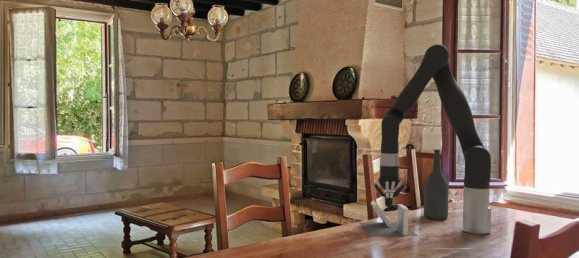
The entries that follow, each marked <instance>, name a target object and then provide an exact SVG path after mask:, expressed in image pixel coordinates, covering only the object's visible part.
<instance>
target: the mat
mask: <svg viewBox="0 0 579 258" xmlns="http://www.w3.org/2000/svg"><path fill="white" fill-rule="evenodd" d="M389 222H390V223H391V226H390V227H388V226H386V225H385V224H384V223H383V221H381V222H378V221H377V222H374V221H372V222H371V221H370V222H369V221H368V222H364V221H363V222H361V221H360V222H358V223H359V224H360V226H361V227H362V228H363V229H364V231H365V232H366V233H367V234H368V236H369V237H374V238H375V237H419V235H418V234H417V233H415V232H414V231H413V230H412V229H411V228H409V227H408V235H403V234H401V233H400V232H399V231H398V229H397V225H398V221H396V222H395V221H393V222H392V221H389Z"/></svg>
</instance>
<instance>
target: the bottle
mask: <svg viewBox="0 0 579 258" xmlns="http://www.w3.org/2000/svg"><path fill="white" fill-rule="evenodd" d="M433 150H434V151H433V152H434V153H433V154H434V155H433V161H432V170H431V172H430V173H429V175H428V176H427V178H426V179H425V180H424V182H423V187H424V188H423V216H424V218H425V219H427V220H433V221H445V220H447V219H448V218H449V193H450V192H449V189H450V185H449V181H448V180H447V178H446V176H445V175H444V174H443V172H442V166H441V154H440V152H441V150H440V149H433Z"/></svg>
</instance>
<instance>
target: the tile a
mask: <svg viewBox="0 0 579 258" xmlns="http://www.w3.org/2000/svg"><path fill="white" fill-rule="evenodd" d="M370 205H371V206H372V209H374V211H375V213H376V215H377V216H378V217H379V219H380V220H381V222H383V223H384V224H385V225H386V226H388V227H390V226H391V223H390V222H391V221H390V220H389V219H388V217H387V216H386V215H385V213H384V211H383V209H382V208H381V207H380V205H379V203H378V202H376V201H375V200H372V201H371V202H370Z"/></svg>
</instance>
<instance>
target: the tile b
mask: <svg viewBox="0 0 579 258" xmlns="http://www.w3.org/2000/svg"><path fill="white" fill-rule="evenodd" d="M397 222H398V225H397V229H398V231H399V232H400V233H401V234H403V235H408V228H409V208H408V207H407V206H406V205H404V204H402V203H398V204H397Z"/></svg>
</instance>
